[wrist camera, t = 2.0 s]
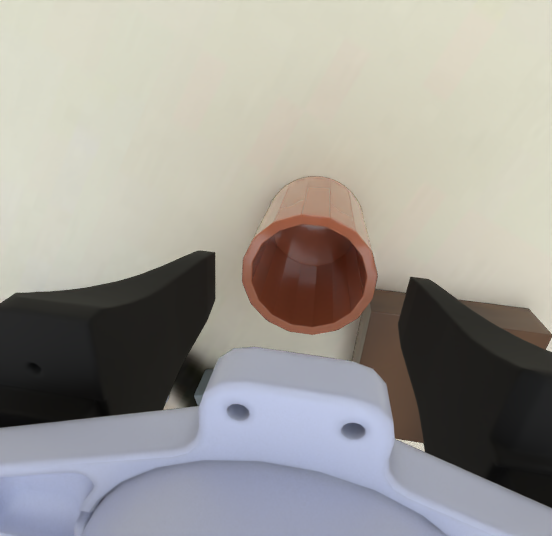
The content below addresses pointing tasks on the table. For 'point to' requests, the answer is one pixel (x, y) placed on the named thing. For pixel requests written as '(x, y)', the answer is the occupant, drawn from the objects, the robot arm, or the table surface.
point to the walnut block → (390, 362)
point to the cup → (311, 259)
